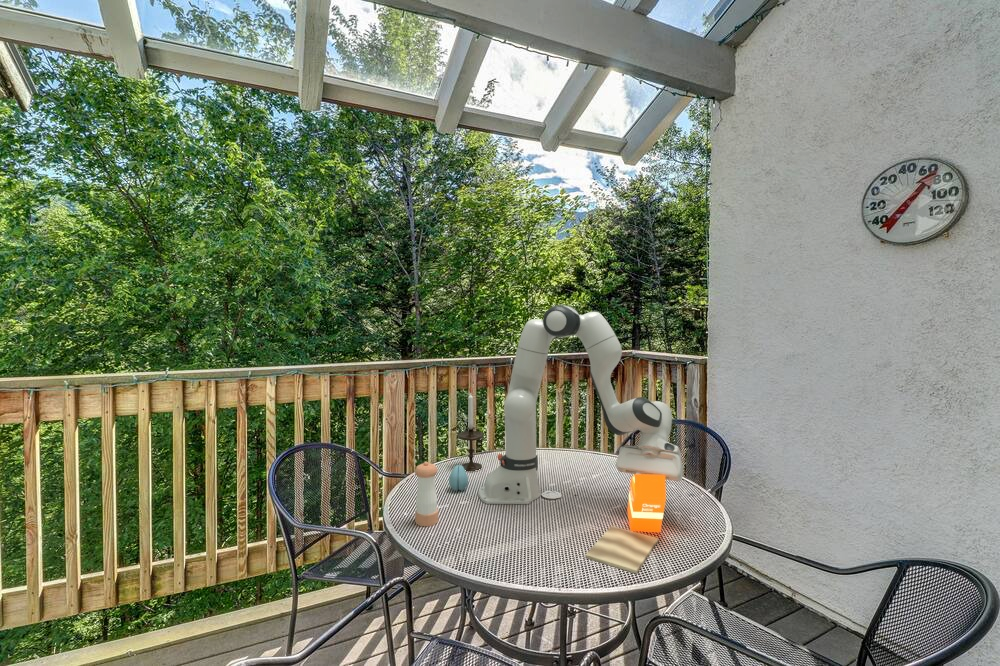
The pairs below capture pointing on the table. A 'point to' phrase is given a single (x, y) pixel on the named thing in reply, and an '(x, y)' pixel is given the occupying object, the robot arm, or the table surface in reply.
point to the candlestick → (471, 437)
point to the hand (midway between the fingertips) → (644, 488)
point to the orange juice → (646, 502)
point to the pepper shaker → (426, 495)
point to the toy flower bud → (458, 478)
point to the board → (622, 549)
